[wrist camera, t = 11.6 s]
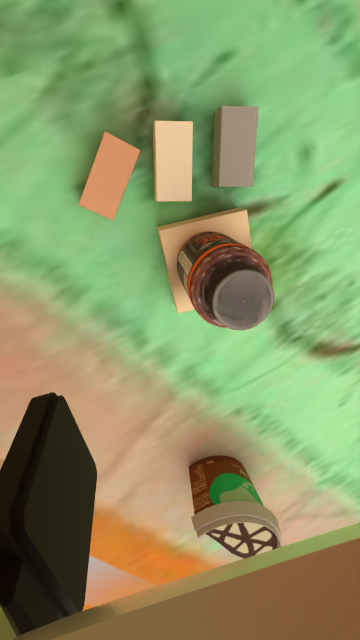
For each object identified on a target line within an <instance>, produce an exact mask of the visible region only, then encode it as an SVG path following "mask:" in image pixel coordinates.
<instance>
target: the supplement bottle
mask: <svg viewBox="0 0 360 640" xmlns="http://www.w3.org/2000/svg"><path fill="white" fill-rule="evenodd" d="M177 271H178V275H179V278H180V280H181V283H182V285H183V287H184V289H185V291H186V293H187V295H188V297H189V299H190V301H191V303H192V305H193V307H194V308H195V310H196V311H197V313H198V314H199V315H200V316H201V317H202V318H203V319H204V320H205V321H207V322H208V323H210V324H212V325H215V326H219V327H224V328H230V329H233V330H246V329H250V328H253V327H255V326H257V325H258V324H260V323H261V322H262V321H264V320H265V318H266V317H267V316H268V314H269V313H270V311H271V309H272V306H273V303H274V291H273V287H272V286H273V285H272V283H273V282H272V276H271V271H270V269H269V267H268V265H267V263H266V261H265V260H264V259H263V257H261V256H260V255H259V254H258V253H257V252H256V251H254V250H252V249H251V248H249V247H247V246H245V245H243V244H241V243H239V242H238V241H236V240H234V239H232V238H231V237H228V236H227V235H224V234H222V233H218V232H212V231H208V232H202V233H199V234H197V235H195V236H193V237H191V238H190V239H189V240H188V241H186V243H185V244H184V245H183V246H182V248H181V250H180V252H179V255H178V258H177Z"/></svg>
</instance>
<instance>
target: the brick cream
mask: <svg viewBox="0 0 360 640" xmlns="http://www.w3.org/2000/svg"><path fill="white" fill-rule="evenodd" d="M192 134H193V122H188V121H155V122H154V125H153V151H154V189H155V200H156V201H192Z"/></svg>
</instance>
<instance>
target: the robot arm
mask: <svg viewBox="0 0 360 640" xmlns="http://www.w3.org/2000/svg"><path fill="white" fill-rule="evenodd" d="M96 481H97V470H96V465H95V462H94V460H93V458H92V456H91V454H90V452H89V449H88V447H87V445H86V443H85V441H84V439H83V437H82V434H81V432H80V430H79V428H78V426H77V424H76V422H75V419H74V417H73V415H72V413H71V411H70V409H69V406H68V404H67V402H66V400H65V398H64V397H63V396H62V395H60V396H57V395H56V394H55V393H53V392H52V393H49V394H45V395H41V396H38V397H34V398H32V399H31V401H30V403H29V406H28V408H27V410H26V412H25V415H24V417H23V419H22V422H21V424H20V426H19V429H18V431H17V433H16V436H15V438H14V440H13V443H12V445H11V447H10V450H9V452H8V454H7V457H6V459H5V461H4V463H3V465H2V468H1V470H0V640H360V523H357V524H354V525H351V526H348V527H344V528H341V529H338V530H335V531H331V532H328V533H325V534H322V535H319V536H315V537H312V538H309V539H306V540H302V541H299V542H296V543H293V544H290V545H286V546H283V547H280V548H277V549H274V550H270V551H267V552H264V553H261V554H258V555H255V556H251V557H248V558H245V559H242V560H239V561H236V562H232V563H229V564H226V565H223V566H220V567H217V568H213V569H210V570H207V571H204V572H201V573H198V574H194V575H191V576H188V577H185V578H182V579H178V580H175V581H172V582H169V583H166V584H163V585H159V586H156V587H153V588H150V589H148V590H144V591H141V592H138V593H135V594H132V595H130V596H126V597H123V598H120V599H118V600H115V601H112V602H109V603H106V604H103V605H100V606H97V607H94V608H91V609H88V610H85V611H82V610H83V607H84V601H85V592H86V581H87V572H88V562H89V552H90V542H91V532H92V522H93V511H94V501H95V491H96ZM81 611H82V612H81ZM78 612H79V613H78Z"/></svg>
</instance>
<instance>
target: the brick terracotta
mask: <svg viewBox="0 0 360 640" xmlns="http://www.w3.org/2000/svg"><path fill="white" fill-rule="evenodd" d="M139 154H140V150H139V149H137V148H135V147H133V146H132V145H130V144H128V143H126V142H124V141H122V140H120V139H118V138H117V137H115V136H113V135H111V134H109V133H107V132H105V133H104V135H103V138H102V141H101V144H100V147H99V149H98V152H97V155H96V158H95V161H94V163H93V166H92V169H91V172H90V175H89V177H88V180H87V183H86V186H85V189H84V191H83V194H82V197H81V200H80V203H79V205H80V206H83V207H85V208H87V209H89V210H91V211H94V212H96V213H98V214H100V215H102V216H104V217H107V218H109V219H111V220H113V219H114V217H115V215H116V212H117V209H118V207H119V204H120V202H121V199H122V197H123V194H124V192H125V189H126V187H127V184H128V181H129V179H130V176H131V174H132V171H133V169H134V166H135V164H136V161H137V159H138V156H139Z"/></svg>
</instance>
